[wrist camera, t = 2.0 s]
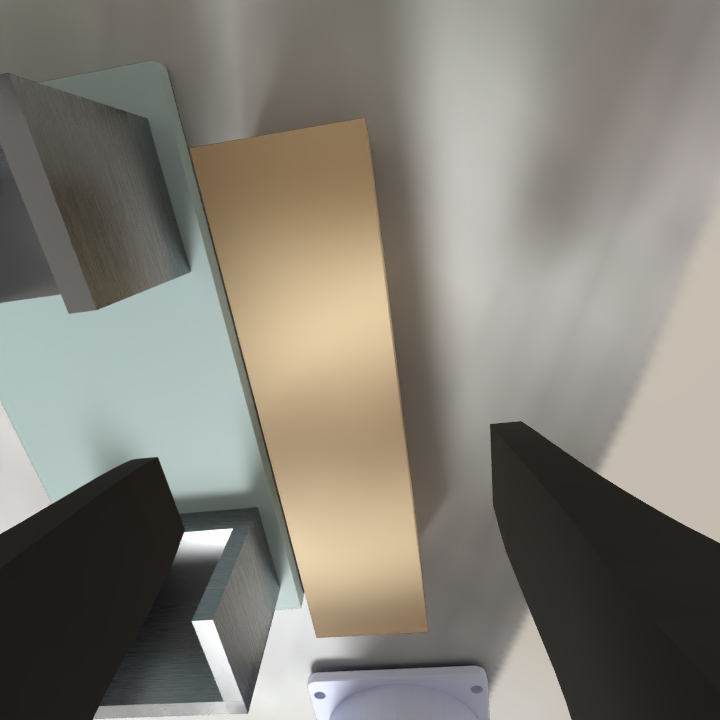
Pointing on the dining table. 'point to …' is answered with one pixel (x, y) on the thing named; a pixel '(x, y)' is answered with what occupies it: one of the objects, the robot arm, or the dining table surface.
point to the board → (145, 360)
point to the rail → (322, 364)
